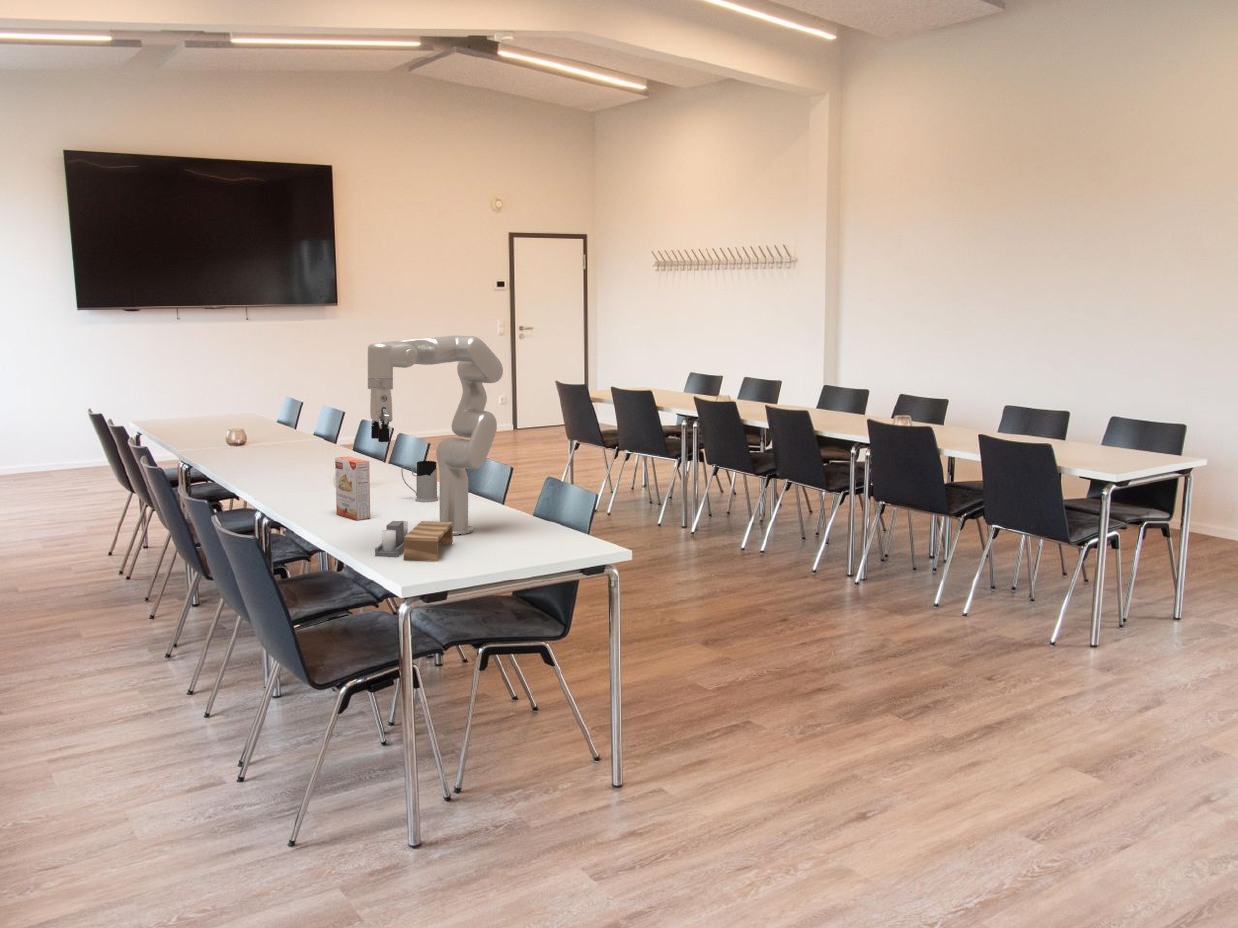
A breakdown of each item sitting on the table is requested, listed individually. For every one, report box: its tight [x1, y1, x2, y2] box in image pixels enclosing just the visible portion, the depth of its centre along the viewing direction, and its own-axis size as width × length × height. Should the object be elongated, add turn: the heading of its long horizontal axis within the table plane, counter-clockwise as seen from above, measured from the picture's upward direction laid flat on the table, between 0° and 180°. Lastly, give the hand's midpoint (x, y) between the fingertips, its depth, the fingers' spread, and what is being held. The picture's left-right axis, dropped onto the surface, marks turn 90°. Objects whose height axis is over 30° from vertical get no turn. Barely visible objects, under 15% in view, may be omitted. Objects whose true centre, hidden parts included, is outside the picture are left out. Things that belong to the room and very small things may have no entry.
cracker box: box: [334, 456, 371, 521], centre depth 377 cm, size 14×6×21 cm, turn 45°
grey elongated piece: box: [374, 520, 409, 558], centre depth 329 cm, size 20×7×8 cm, turn 176°
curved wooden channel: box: [403, 520, 454, 562], centre depth 327 cm, size 24×10×7 cm, turn 178°
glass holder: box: [400, 460, 439, 503], centre depth 412 cm, size 9×14×15 cm, turn 89°
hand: (380, 440), depth 325 cm, fingers open, 9 cm apart
